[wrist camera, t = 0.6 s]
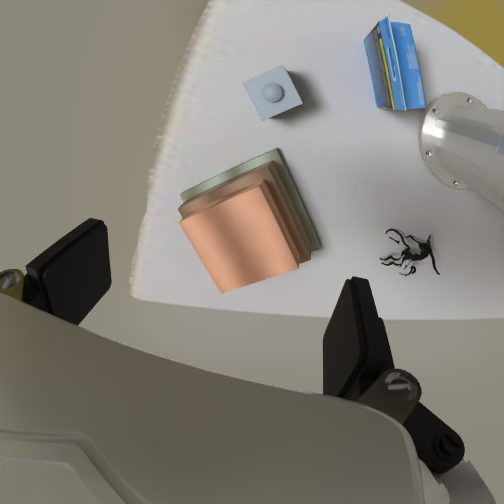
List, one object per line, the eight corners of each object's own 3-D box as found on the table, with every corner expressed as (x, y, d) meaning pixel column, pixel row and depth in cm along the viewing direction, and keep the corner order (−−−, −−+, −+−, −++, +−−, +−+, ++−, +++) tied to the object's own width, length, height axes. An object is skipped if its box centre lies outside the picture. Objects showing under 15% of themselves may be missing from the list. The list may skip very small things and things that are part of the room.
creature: (388, 275, 43) (438, 262, 38) (387, 299, 39) (442, 285, 34) (371, 231, 40) (425, 214, 36) (370, 252, 36) (430, 234, 32)
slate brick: (286, 70, 31) (282, 63, 26) (303, 103, 33) (302, 103, 27) (252, 85, 33) (241, 82, 27) (269, 118, 35) (261, 121, 29)
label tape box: (405, 106, 31) (446, 111, 20) (373, 108, 32) (403, 112, 21) (392, 38, 27) (427, 14, 16) (360, 39, 28) (383, 12, 17)
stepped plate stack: (276, 147, 36) (268, 160, 29) (320, 244, 41) (321, 277, 34) (182, 192, 41) (156, 213, 34) (230, 275, 46) (215, 309, 39)
